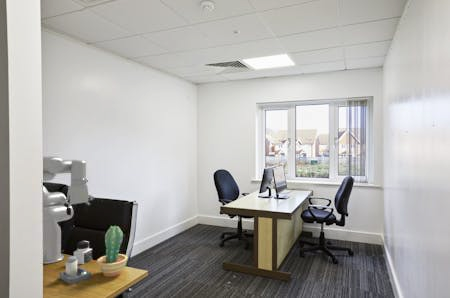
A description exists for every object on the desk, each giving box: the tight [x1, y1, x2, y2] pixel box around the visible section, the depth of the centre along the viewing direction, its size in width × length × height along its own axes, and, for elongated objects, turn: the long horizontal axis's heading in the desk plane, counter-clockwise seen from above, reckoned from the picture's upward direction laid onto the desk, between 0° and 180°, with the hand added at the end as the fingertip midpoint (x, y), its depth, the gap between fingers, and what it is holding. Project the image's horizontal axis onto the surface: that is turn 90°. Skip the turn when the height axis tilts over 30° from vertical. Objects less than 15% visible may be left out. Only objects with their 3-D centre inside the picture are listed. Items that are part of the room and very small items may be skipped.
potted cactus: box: [96, 225, 128, 277], centre depth 153 cm, size 15×15×25 cm
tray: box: [59, 266, 92, 286], centre depth 147 cm, size 12×10×3 cm
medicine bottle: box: [73, 240, 93, 265], centre depth 169 cm, size 7×7×12 cm
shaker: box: [65, 255, 78, 279], centre depth 147 cm, size 5×5×10 cm
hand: (78, 213), depth 161 cm, fingers open, 9 cm apart
